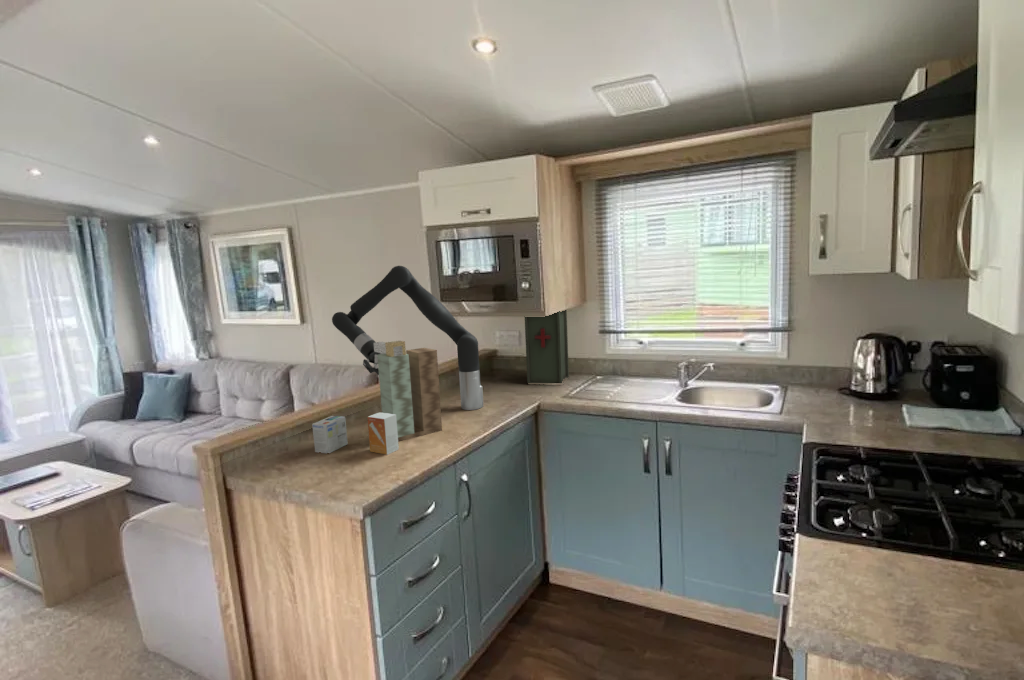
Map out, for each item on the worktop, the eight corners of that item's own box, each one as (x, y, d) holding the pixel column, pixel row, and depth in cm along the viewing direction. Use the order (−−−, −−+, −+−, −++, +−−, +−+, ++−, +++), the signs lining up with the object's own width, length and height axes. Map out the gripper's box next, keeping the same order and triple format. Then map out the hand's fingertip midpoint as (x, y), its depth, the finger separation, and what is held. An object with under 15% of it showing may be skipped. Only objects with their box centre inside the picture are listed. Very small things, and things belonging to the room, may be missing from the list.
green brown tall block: (429, 425, 220) (424, 347, 215) (442, 430, 212) (436, 350, 207) (383, 436, 208) (377, 354, 203) (395, 442, 200) (388, 357, 195)
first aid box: (568, 378, 296) (566, 305, 291) (561, 385, 279) (559, 308, 273) (536, 377, 302) (533, 306, 296) (527, 384, 284) (524, 309, 279)
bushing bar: (385, 349, 214) (384, 337, 213) (405, 354, 200) (404, 341, 199) (371, 351, 210) (370, 339, 210) (390, 356, 196) (389, 343, 195)
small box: (369, 452, 190) (366, 416, 188) (382, 446, 196) (379, 411, 194) (387, 455, 186) (384, 418, 184) (399, 449, 192) (396, 413, 190)
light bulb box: (334, 442, 203) (331, 415, 201) (348, 444, 200) (346, 416, 199) (314, 452, 193) (311, 423, 191) (329, 454, 190) (326, 424, 189)
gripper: (354, 347, 221) (379, 373, 216) (381, 333, 230) (406, 358, 226) (352, 358, 226) (376, 384, 221) (379, 345, 236) (403, 369, 231)
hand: (391, 371), depth 223 cm, fingers open, 8 cm apart
